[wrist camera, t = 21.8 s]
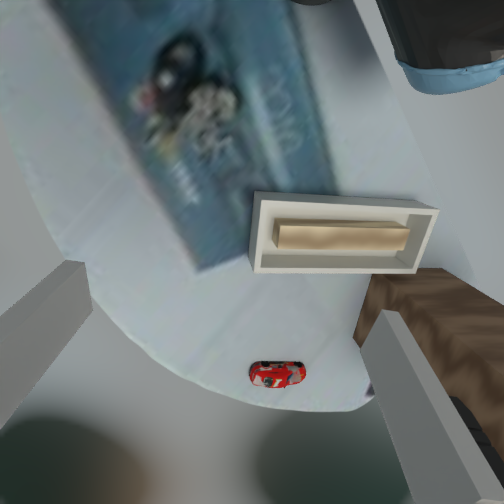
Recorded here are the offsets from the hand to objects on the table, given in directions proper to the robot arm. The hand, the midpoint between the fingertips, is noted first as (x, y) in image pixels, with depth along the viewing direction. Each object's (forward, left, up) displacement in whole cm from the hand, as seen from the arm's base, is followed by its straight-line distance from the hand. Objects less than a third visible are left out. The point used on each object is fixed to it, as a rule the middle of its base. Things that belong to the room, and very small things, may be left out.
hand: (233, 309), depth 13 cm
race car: (+42, +16, -35) cm, 57 cm away
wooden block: (+25, +41, -34) cm, 59 cm away
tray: (+8, +22, -34) cm, 41 cm away
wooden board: (+8, +22, -33) cm, 41 cm away
